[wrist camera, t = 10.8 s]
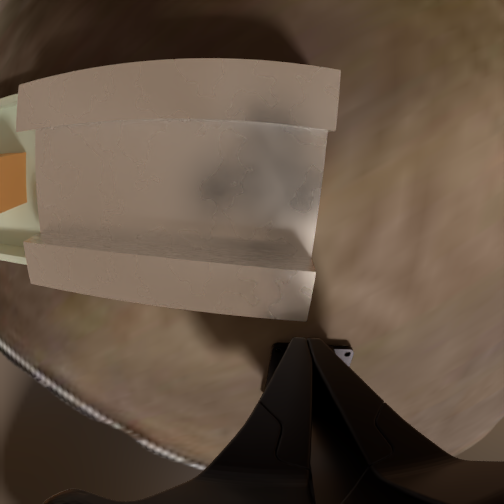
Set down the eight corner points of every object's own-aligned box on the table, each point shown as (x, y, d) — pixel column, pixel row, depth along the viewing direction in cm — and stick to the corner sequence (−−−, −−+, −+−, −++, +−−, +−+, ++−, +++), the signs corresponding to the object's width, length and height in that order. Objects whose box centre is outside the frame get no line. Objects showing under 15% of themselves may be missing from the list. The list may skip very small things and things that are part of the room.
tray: (62, 255, 22) (45, 268, 19) (-15, 244, 22) (-31, 253, 20) (58, 90, 17) (37, 88, 15) (-23, 111, 17) (-42, 113, 15)
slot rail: (299, 281, 21) (306, 321, 17) (67, 256, 22) (31, 283, 17) (322, 86, 17) (340, 70, 12) (63, 89, 17) (18, 84, 12)
